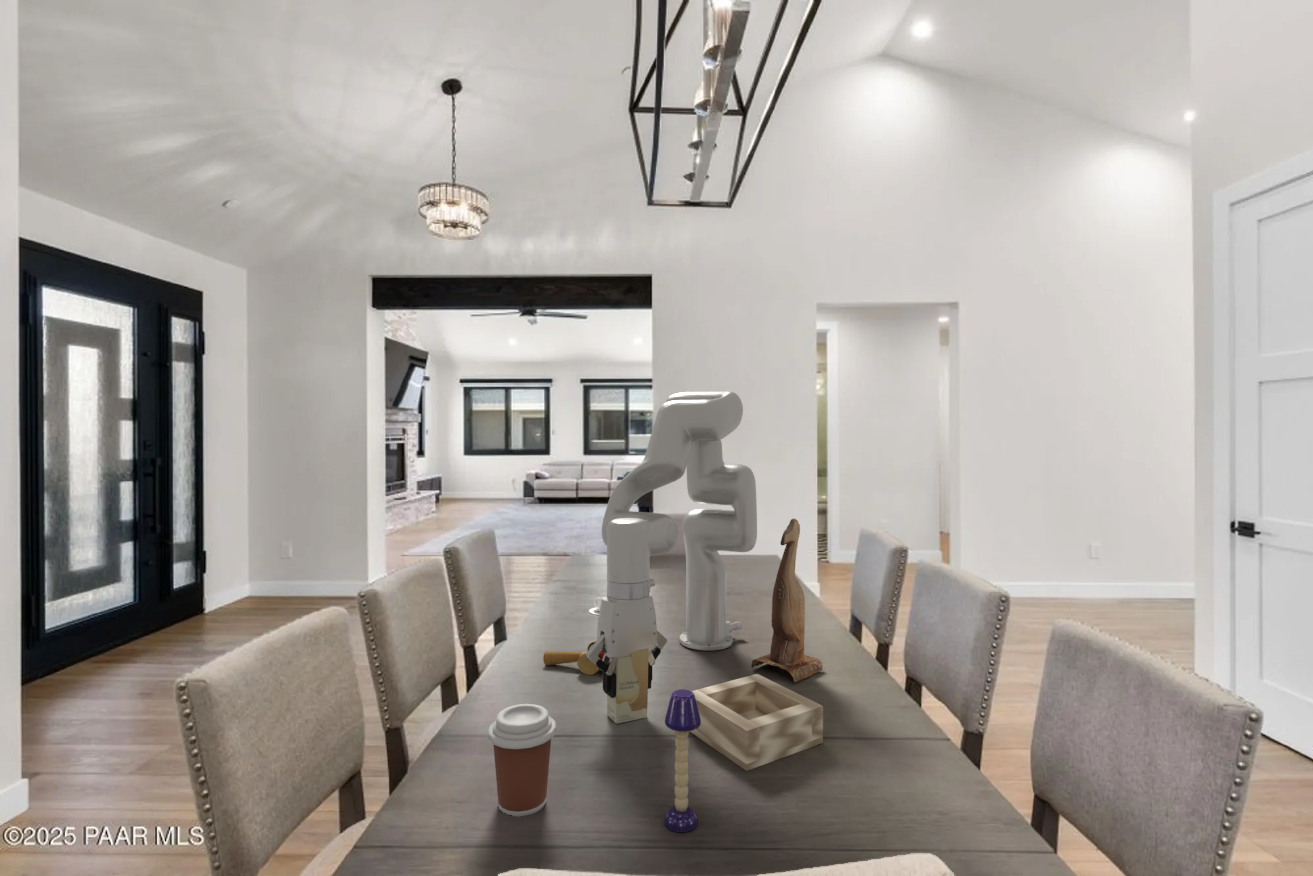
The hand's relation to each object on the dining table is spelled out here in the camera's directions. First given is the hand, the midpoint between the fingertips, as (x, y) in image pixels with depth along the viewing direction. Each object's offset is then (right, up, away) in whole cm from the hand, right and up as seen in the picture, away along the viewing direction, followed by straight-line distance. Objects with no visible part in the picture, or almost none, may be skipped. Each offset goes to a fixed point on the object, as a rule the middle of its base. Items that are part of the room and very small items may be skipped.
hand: (627, 689), depth 113 cm
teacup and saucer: (-8, -4, +62) cm, 63 cm away
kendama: (-10, -5, +23) cm, 25 cm away
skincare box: (0, -5, 0) cm, 5 cm away
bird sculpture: (+32, -5, +22) cm, 39 cm away
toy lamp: (+8, -5, -30) cm, 32 cm away
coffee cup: (-13, -5, -26) cm, 30 cm away
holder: (+21, -5, -7) cm, 23 cm away
